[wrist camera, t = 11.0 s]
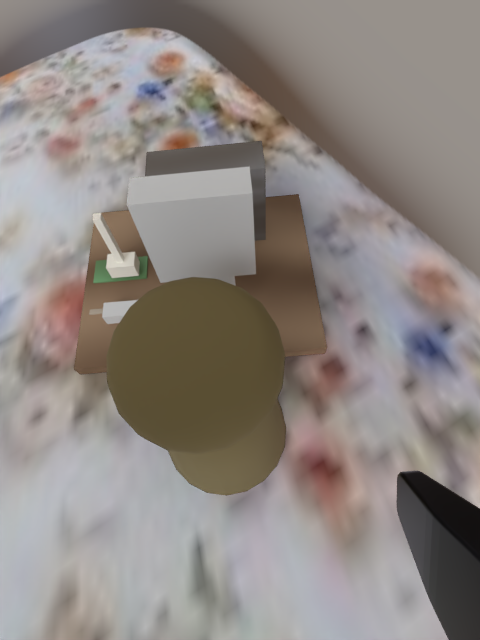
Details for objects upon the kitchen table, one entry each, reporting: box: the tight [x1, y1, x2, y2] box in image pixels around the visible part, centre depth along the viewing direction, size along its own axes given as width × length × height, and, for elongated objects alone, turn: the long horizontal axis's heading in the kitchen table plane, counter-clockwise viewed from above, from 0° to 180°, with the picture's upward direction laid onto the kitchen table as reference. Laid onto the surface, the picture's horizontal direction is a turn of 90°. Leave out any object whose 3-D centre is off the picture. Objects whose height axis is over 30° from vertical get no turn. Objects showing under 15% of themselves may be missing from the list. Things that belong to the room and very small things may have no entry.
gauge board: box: [74, 141, 327, 374], centre depth 22 cm, size 11×14×6 cm
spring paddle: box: [102, 167, 256, 324], centre depth 18 cm, size 2×8×10 cm, turn 94°
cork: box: [106, 277, 286, 495], centre depth 15 cm, size 6×6×11 cm
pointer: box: [92, 213, 140, 278], centre depth 22 cm, size 1×2×5 cm, turn 94°
